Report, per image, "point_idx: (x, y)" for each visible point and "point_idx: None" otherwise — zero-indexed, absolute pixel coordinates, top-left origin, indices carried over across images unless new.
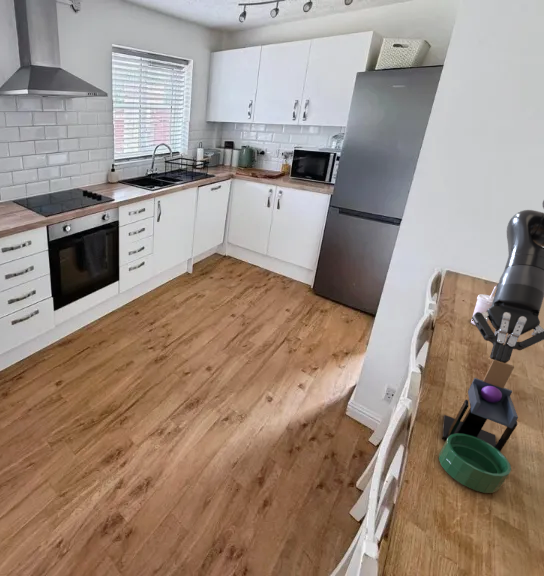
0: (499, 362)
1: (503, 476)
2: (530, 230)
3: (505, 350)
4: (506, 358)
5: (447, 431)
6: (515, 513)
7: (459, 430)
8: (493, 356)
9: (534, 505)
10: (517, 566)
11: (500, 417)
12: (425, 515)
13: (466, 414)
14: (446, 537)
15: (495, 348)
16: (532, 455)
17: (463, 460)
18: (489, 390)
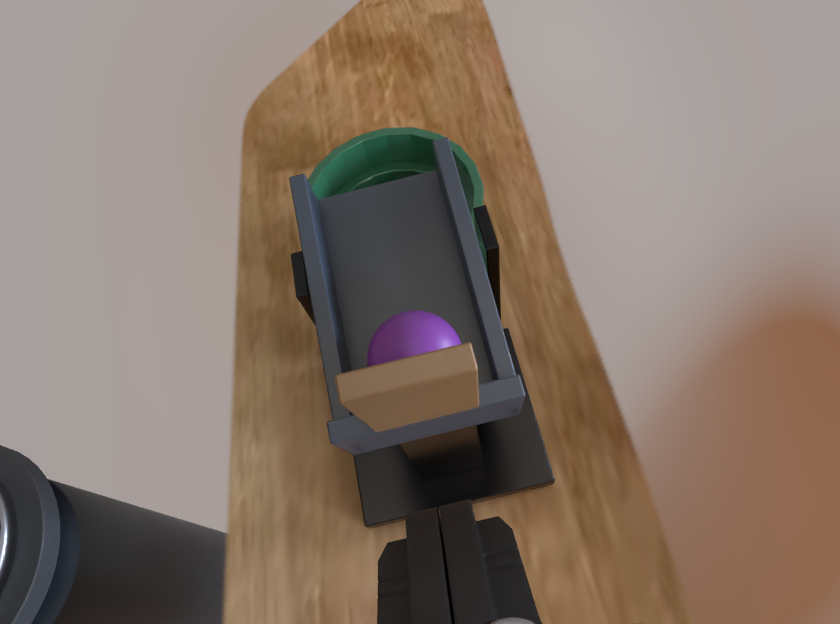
0: (431, 352)
1: (315, 169)
2: None
3: (431, 583)
4: (403, 552)
5: None
6: (283, 212)
7: None
8: (495, 518)
9: (243, 280)
10: (275, 84)
11: (351, 233)
12: (441, 45)
13: (480, 448)
14: (393, 35)
15: (516, 578)
16: (241, 543)
17: (416, 132)
18: (426, 313)
